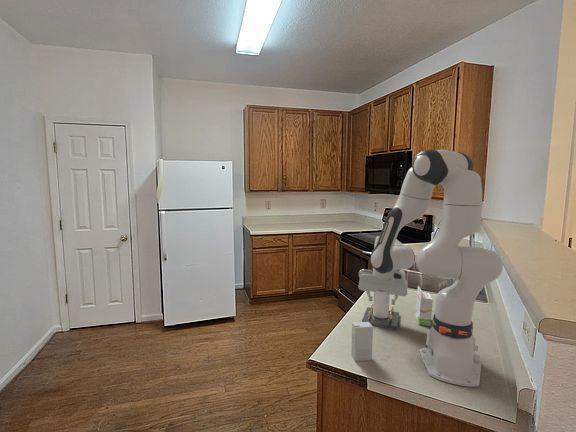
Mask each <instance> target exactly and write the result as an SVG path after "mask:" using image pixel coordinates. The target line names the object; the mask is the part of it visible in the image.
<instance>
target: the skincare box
mask: <svg viewBox="0 0 576 432" xmlns="http://www.w3.org/2000/svg"><path fill="white" fill-rule="evenodd" d="M351 324H352V325H351V356H352V358H353V360H354V362H361V361H362V362H363V361H364V362H365V361H372V360H373V338H374V337H373V335H374V326H373V325H371V324H370V323H369V322H362V321H355V322H354V321H353V322H352V323H351Z"/></svg>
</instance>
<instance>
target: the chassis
mask: <svg viewBox="0 0 576 432" xmlns="http://www.w3.org/2000/svg"><path fill="white" fill-rule="evenodd" d="M373 305H374V303H371V307H370V306H369V307H366V309H365V312H364V314H363V316H362V319H361V322H369V323H370V324H371V325H372V326H373V327H374V326H375V327H380V328H386V329H391V330H394V331H395V330H398V324H399V323H398V322H399V317H400V312H399V311H395V310H394V309H395V307H394V306H391V307H390V310H389V316H388V317H387V318H385V319H380V318H377V317H375V316H374V315H373Z"/></svg>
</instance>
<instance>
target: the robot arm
mask: <svg viewBox="0 0 576 432" xmlns="http://www.w3.org/2000/svg"><path fill="white" fill-rule="evenodd" d="M401 185H402V186H401V189H400V192H399V193H400V194H399V196H398V199H397V200H396V203H395V205H394V207H393V208H392V209H391V210H390V211H389V212H388V214H387V216H386V218H385V220H384V224H383V226H382V230H381V232H380V234H378V235H377V236H376V238H375V240H374V245H373V246H374V247H373V250H372V251H371V254H370V264H371V266H372V269H366V268H365V269H364V268H363V269H360V270H359V271H358V277H359V280H358V281H359V282H358V289H359V291H364V292H366V294H367V297H368V301H369V302H374V295H373V296H372V295H371V293H374V292H377V290H378V291H387V292H386V293H387V294H390V296H391V295H393V296H394V299H391V305H393V306H395V305H396V301H397V300H398V299H399V297H406V296H407V295H408V281H407V278H406V272H405V270H408V269H410V268H412V267H413V266H414V265H416V268H417V269H418V272H419V273H421V275H425V276H428V277H431V278H436V279H437V278H438V279H446V280H455V281H454V283H453V284H452V285H450V286H447V287H445V288H443V289H441V290H440V291H439V292H438V293H437V294H436V296H435V309H434V310H435V311H434V314H433V316H432V317H433V318H432V326H431V328H430V329H428V330H427V333H426V343H425V347H421V348H420V349H419V354H420V356H421V359H422V361H423V363H424V365H425V369H426V371H427V374H428V376H430V377H432V378H434V379H436V380H439V381H441V382H444V383H448V384H454V385H456V386H463V387H468V388H469V387H470V388H473V387H474V388H475V387H479V386H480V383H481V375H482V373H481V372H482V361H481V360H480V359H481V355H479V354H475V353H476V352H478V350H479V347H478V346H477V345H476V341H477V339H476V337H475V336H474V335H473V333H474V332H473V331H474V322H473V321H472V320H473V310H474V305H475V301H476V299H477V297H478V295H479V293H480V292H481V291H482V290H483V289H484V288H485V287H486V286H487V285H488V284H490V283H491V282H493V281H495V280H498V278H499V277H500V276H501V274H502V272H503V267H504V264H503V260H502V258H501V256H500V255H499V253H497V252H496V251H495V250H493V249H488V248H485V247H484V248H483V247H474V246H459V243H460V242H461V241H462V240H463V239H464V238H467V237H469V236H473V235H474V234H476V233H477V232H478V230H479V229H480V227H481V219H482V210H483V209H482V207H483V206H482V205H483V185H482V178H481V176H480V174H479V173H478V172H476V171H475V170H474V163H473V159H472V158H471V157H470V156H469V155H467V154H465V153H464V152H459V151H453V150H449V149H433V148H431V149H424V150H422V151H420V152H418V153H417V154H416V155H415V156H414V158H413V160H412V164H411V167H410V168H409V169H408V170H407V172H406V175H405V178H404V179H403V182H402V184H401ZM437 185H441V187H442V188H443V203H442V212H441V213H442V214H441V221H440V226H439V228H438V230H437V233H436V234H435V235H434V237H433V238H432V239H431V240H430V241H429V242H427V243H426V244H424V245H423V246H421V247H420V248H419V249H418V250H417V253H416V255H415V252H414V250H413V249H412V247H411V246H408V245H405V244H404V243H402V242H401V241H399V239H397V238H398V236H399V233H400V231H401V229H402V228H403V227H405V226H406V225H408V224H409V223H411V222H413V221H416V220H418V219H420V218H421V217H422V218H423V216H424V215H425V214H426V213H427V211H428V209H429V208H430V204H431V201H432V197H433V192H434V188H435V187H436V186H437Z"/></svg>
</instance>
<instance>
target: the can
mask: <svg viewBox="0 0 576 432" xmlns="http://www.w3.org/2000/svg"><path fill="white" fill-rule="evenodd" d="M386 292H387V291H378V290H377V292H373V304H374V305H373V315H374V316H375V317H377V318H380V319H385V318H387V317H388V316H389V311H390V296H391V294H387V293H386Z"/></svg>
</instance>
